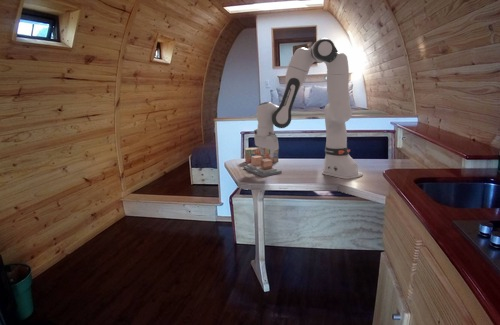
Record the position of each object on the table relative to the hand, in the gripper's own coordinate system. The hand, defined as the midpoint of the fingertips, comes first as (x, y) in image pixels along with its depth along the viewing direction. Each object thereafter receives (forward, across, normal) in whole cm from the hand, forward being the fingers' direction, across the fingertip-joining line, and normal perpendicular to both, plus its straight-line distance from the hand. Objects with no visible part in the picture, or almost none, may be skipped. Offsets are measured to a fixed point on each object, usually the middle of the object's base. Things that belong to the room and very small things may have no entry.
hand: (266, 155), depth 178 cm
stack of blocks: (+10, +26, -11) cm, 30 cm away
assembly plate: (+10, +5, +1) cm, 11 cm away
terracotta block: (+8, 0, +1) cm, 8 cm away
